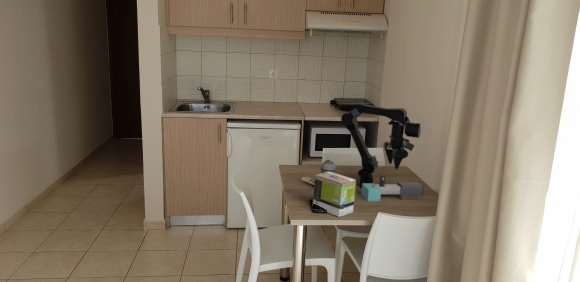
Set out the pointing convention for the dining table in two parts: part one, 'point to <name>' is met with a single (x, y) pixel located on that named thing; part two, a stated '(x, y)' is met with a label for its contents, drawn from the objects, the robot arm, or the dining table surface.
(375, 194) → the socket block
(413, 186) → the sleeve
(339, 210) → the tea box
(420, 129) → the robot arm
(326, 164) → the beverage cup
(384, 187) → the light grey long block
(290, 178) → the dining table surface
